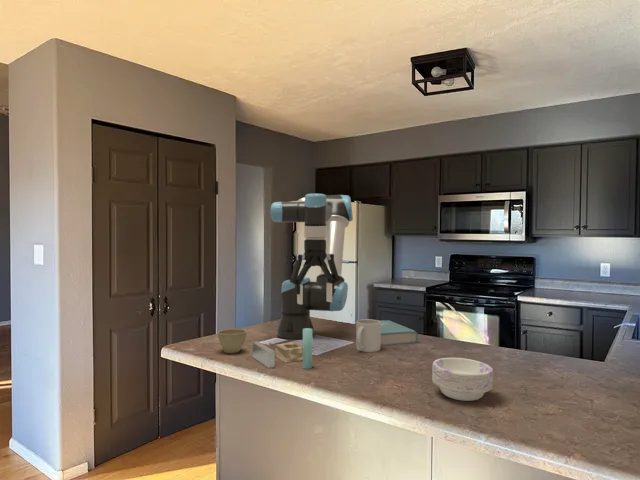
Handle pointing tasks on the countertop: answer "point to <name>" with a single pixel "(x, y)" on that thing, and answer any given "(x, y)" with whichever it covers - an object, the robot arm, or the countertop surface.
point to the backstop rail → (264, 354)
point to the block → (289, 352)
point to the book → (396, 334)
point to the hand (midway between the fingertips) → (314, 302)
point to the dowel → (307, 348)
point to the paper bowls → (462, 378)
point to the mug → (368, 335)
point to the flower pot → (232, 339)
